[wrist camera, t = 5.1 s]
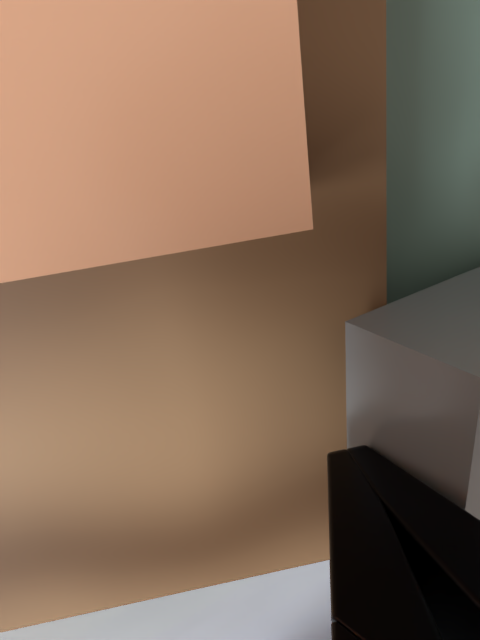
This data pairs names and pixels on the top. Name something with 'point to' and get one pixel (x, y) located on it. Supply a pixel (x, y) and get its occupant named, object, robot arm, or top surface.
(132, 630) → the top surface
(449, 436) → the slate tile
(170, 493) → the walnut board
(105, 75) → the terracotta tile
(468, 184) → the box
